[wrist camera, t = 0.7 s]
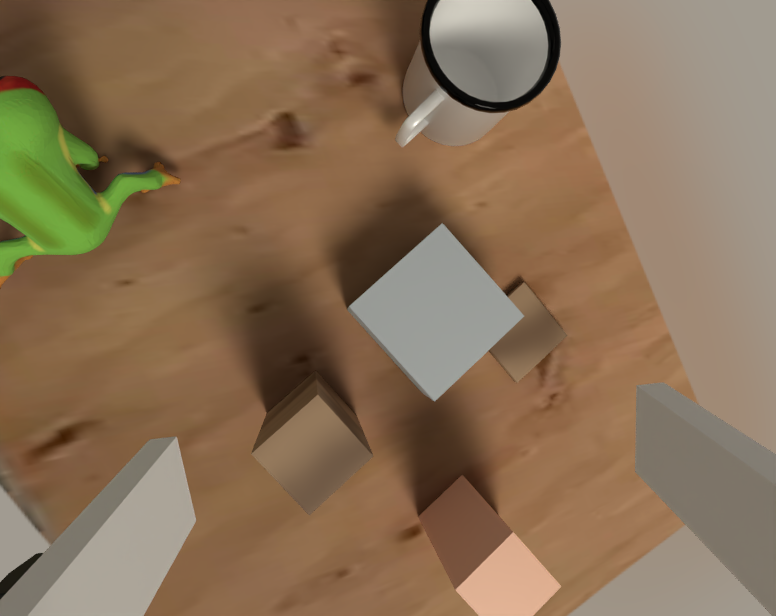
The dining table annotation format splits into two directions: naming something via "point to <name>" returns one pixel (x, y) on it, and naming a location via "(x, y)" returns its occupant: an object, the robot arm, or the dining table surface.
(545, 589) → the terracotta block
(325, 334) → the dining table surface
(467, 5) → the mug
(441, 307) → the grey block
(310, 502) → the walnut block
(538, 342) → the walnut tile
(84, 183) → the toy
